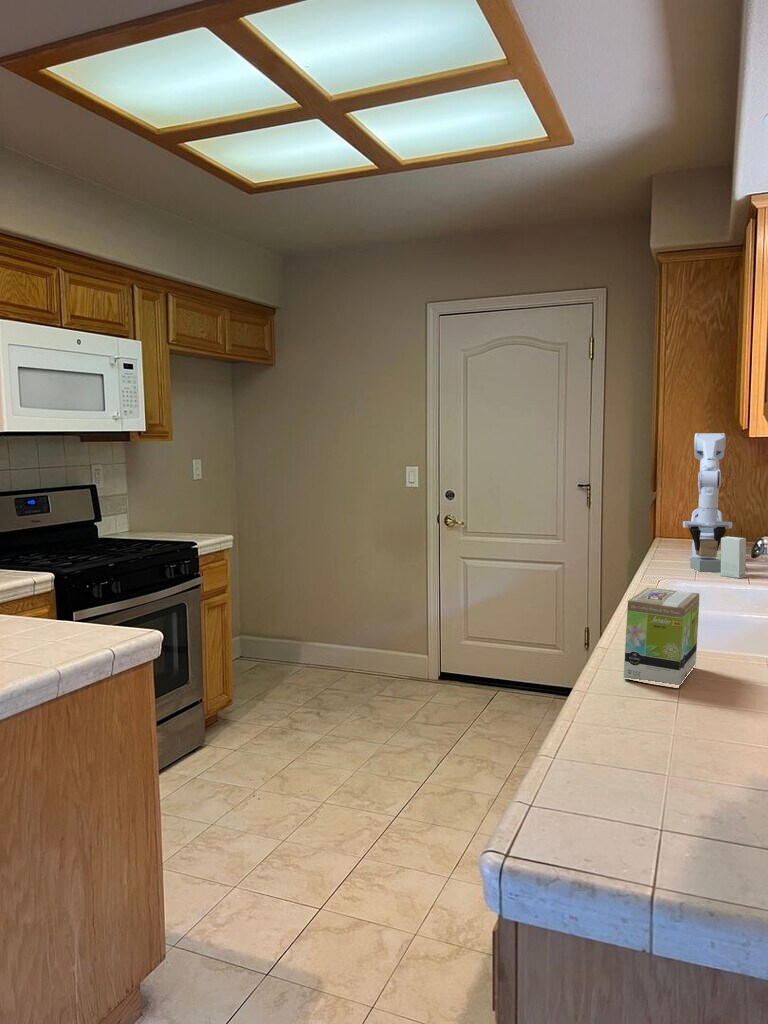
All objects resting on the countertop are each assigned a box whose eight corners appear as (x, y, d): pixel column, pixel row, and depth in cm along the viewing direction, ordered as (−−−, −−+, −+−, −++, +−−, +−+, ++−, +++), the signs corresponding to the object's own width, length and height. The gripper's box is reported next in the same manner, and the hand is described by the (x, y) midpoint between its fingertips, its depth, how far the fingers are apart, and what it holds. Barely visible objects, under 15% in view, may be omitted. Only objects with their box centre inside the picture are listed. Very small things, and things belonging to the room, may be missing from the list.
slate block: (690, 569, 246) (690, 557, 246) (711, 569, 246) (712, 557, 246) (699, 573, 239) (699, 560, 239) (721, 573, 239) (721, 560, 239)
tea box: (681, 691, 130) (684, 606, 128) (622, 681, 135) (624, 599, 133) (697, 668, 142) (700, 590, 141) (642, 659, 148) (644, 585, 146)
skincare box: (745, 577, 231) (747, 537, 230) (738, 578, 228) (740, 539, 227) (726, 574, 236) (727, 535, 235) (719, 576, 233) (720, 537, 232)
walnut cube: (695, 554, 245) (696, 538, 244) (711, 554, 244) (712, 539, 244) (700, 556, 240) (701, 541, 239) (716, 557, 239) (717, 541, 239)
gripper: (687, 509, 237) (686, 551, 239) (736, 509, 236) (734, 552, 237) (681, 506, 244) (680, 548, 246) (728, 507, 243) (726, 549, 244)
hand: (706, 550), depth 242 cm, fingers closed on walnut cube, 5 cm apart
